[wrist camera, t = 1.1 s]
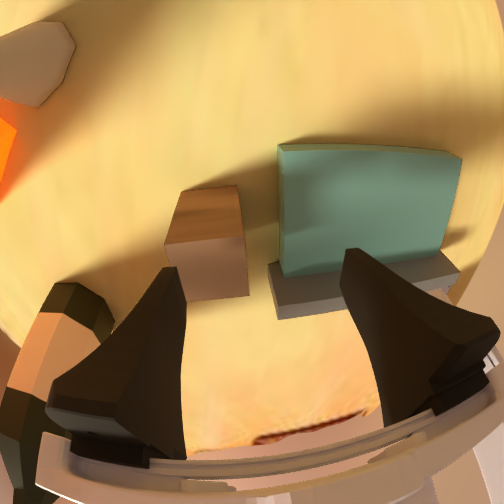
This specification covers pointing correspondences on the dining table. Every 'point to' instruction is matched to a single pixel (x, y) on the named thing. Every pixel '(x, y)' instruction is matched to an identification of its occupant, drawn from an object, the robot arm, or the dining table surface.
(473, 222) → the dining table surface
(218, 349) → the dining table surface
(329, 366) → the dining table surface
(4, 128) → the orange juice
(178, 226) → the walnut block
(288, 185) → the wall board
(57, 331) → the wine bottle
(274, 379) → the dining table surface
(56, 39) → the flask
